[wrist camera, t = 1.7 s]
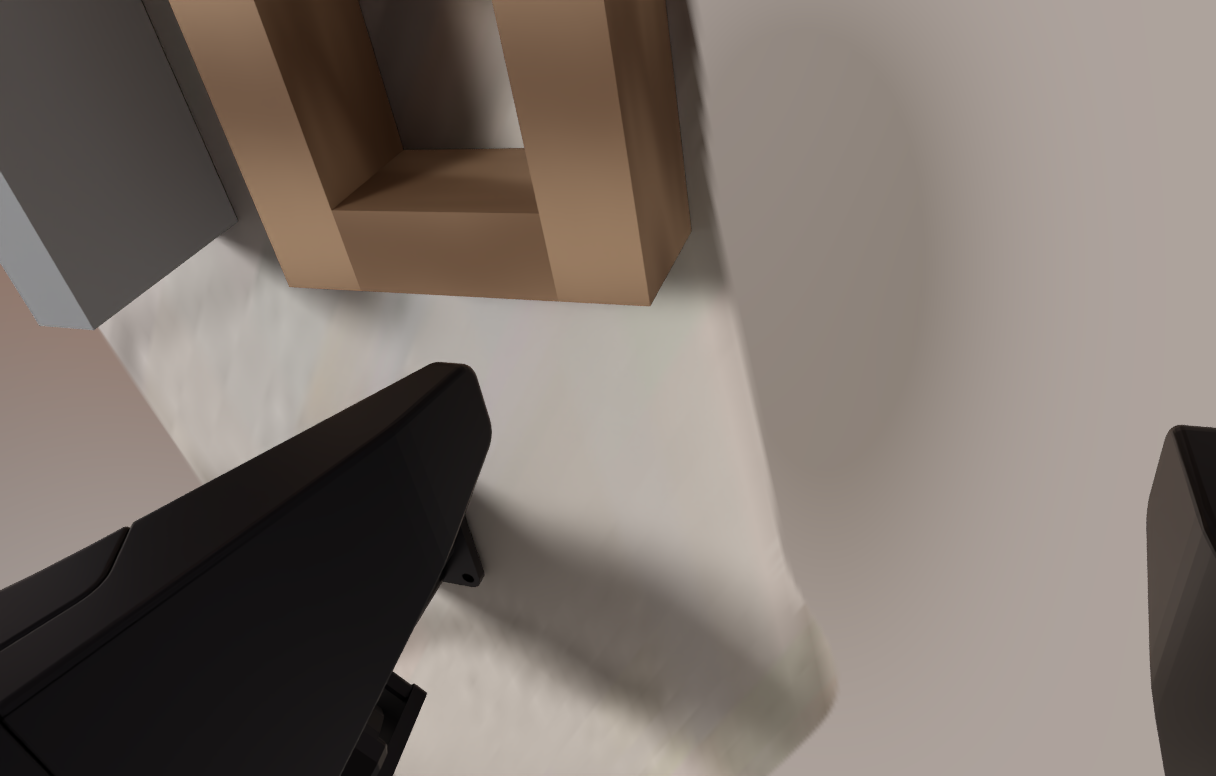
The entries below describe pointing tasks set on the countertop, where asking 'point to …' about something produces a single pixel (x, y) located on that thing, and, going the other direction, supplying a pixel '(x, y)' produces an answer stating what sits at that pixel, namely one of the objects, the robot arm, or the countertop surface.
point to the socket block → (456, 153)
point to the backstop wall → (96, 160)
